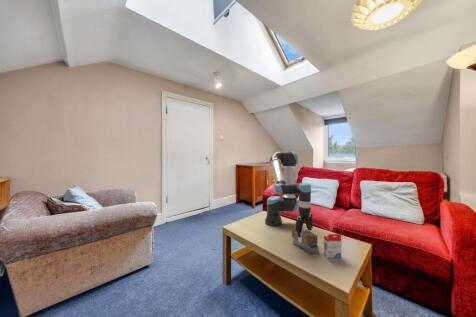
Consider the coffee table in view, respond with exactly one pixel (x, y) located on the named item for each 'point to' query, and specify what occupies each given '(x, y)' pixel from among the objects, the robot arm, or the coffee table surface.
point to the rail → (307, 247)
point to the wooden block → (306, 237)
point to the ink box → (332, 245)
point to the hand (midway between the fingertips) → (304, 240)
